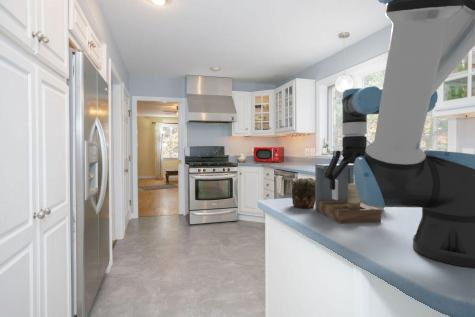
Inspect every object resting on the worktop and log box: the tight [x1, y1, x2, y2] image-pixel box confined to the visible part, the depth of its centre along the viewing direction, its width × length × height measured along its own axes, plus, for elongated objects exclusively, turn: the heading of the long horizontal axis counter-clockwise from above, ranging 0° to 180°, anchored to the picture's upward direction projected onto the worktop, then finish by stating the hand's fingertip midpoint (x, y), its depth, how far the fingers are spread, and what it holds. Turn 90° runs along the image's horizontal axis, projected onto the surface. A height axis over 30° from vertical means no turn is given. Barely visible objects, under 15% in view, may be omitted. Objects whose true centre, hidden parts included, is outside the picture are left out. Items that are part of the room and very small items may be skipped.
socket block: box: [318, 200, 382, 224], centre depth 96 cm, size 17×14×4 cm
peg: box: [348, 182, 360, 210], centre depth 91 cm, size 4×4×12 cm
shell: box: [291, 177, 315, 209], centre depth 112 cm, size 11×11×12 cm
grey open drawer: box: [314, 163, 355, 212], centre depth 102 cm, size 8×15×18 cm, turn 96°
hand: (354, 198), depth 91 cm, fingers open, 13 cm apart
